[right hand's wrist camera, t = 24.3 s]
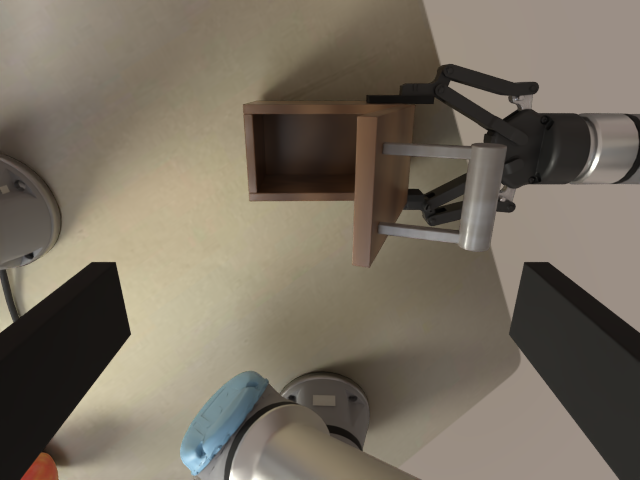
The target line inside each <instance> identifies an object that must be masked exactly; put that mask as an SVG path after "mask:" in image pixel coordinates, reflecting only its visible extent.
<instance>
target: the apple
mask: <svg viewBox="0 0 640 480" xmlns="http://www.w3.org/2000/svg"><path fill="white" fill-rule="evenodd" d="M21 480H58V472H57V468H56V465H55V462H54V460H53V459H52V457H51V456H50V455H49V454H47V453H43V452H41V453H40V455H39V456H38V457H37V459H36V460H35V461H34V463H33V464H32V465H31V467H30V468H29V469H28V470H27V472H26V473H25V474H24V476H23V477H22V478H21Z"/></svg>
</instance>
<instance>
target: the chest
mask: <svg viewBox="0 0 640 480" xmlns="http://www.w3.org/2000/svg"><path fill="white" fill-rule="evenodd" d="M399 105H407V104H402V103H367V102H366V101H254V102H250V103H247V104H243V113H244V128H245V143H246V158H247V173H248V188H249V201H354V199H355V171H356V142H357V117H358V116H360V115H364V114H368V113H372V112H376V111H380V110H384V109H388V108H392V107H395V106H399Z"/></svg>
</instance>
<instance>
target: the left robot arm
mask: <svg viewBox="0 0 640 480" xmlns="http://www.w3.org/2000/svg"><path fill="white" fill-rule="evenodd" d="M450 80H451V81H454V82H458V83H461V84H465V85H468V86H471V87H475V88H478V89H482V90H485V91H488V92H492V93H495V94H499V95H507V96H509V97H508V98H509V101H510V102H511V103H514V104H516V105H517V107H518V110H516V111H514V112H513V113H511V114H510V115H508V116H507V117H505V118H504V119H500V118H499V117H497V116H494V115H493V114H491V113H489V112H488V111H486V110H485V109H483V108H481V107H480V106H478V105H477V104H475V103H473V102H472V101H470V100H469V99H467V98H465V97H464V96H462V95H461V94H459V93H457V92H456V91H454V90H453V89H451V88H449V87H448V85H449V82H450ZM538 89H539V85H538V83H536V82H517V83H513V82H510V81H506V80H503V79H500V78H496V77H493V76H490V75H487V74H483V73H480V72H477V71H473V70H470V69H467V68H463V67H460V66H457V65H453V64H447V65H442V66H440V67H439V68H438V70H437V75H436V77H435V79H434V81H433V82H431V83H429V84H403V85H401V86H400V94H399V95H367V100H366V102H367V103H402V104H434V97H435V98H437V99H438V100H440V101H442V102H443V103H445V104H447V105H448V106H450V107H451V108H453V109H455V110H456V111H458V112H460V113H461V114H463V115H464V116H466V117H468V118H469V119H471V120H473V121H474V122H476V123H477V124H478V125H480V126H481V127H483V128H485V129H486V130H488V132H487V134H485V135H484V143H495V144H502V145H505V146H507V151H506V157H505V162H504V168H503V174H502V180H501V183H502V184H503V185H504V187H503V188H502V189H501V190H500V191H499V197H498V203H497V208H496V211H497V212H508V213H509V212H513V211H514V210H515V207H516V206H515V204H514V203H513V202H512V201H513V197H514V194H515V190H516V188H519V187H521V186H523V185H527V184H567V183H570V184H640V114H610V113H609V114H608V113H584V114H579V115H578V114H574V113H537V112H535V111H534V110H532V109H531V107H532V98H533V94H535V93H536V92H537V91H538ZM466 178H467V173H466V174H464V175H462V176H460V177H458V178H456V179H454V180H452V181H450V182H448V183H446V184H444V185H442V186H440V187H438V188H436V189H434V190H432V191H430V192H428V193H426V194H423V193H422V192H421V191H420V190H419V189H408V196H407V203H406V205H405V207H404V208H403V210H422V216H423V218H424V219H425V221H426V222H427V223H428V224H429V225H430V226H435V225H439V224H444V223H448V222H452V221H456V220H460V219H461V213H462V206H463V201H461V202H457V203H453V204H449V205H445V206H441V205H443V204H445V203H447V202H449V201H451V200H453V199H455V198H457V197H459V196H461V195H463V194H464V192H465V185H466ZM439 206H441V207H439ZM369 418H370V411H369V405H368V400H367V397H366V395H365V393H364V392H363V390H362V389H361V388H360V387H359V386H358V385H357V384H356V383H355V382H353V381H352V380H350V379H348V378H346V377H344V376H342V375H338V374H334V373H327V372H318V373H311V374H307V375H303V376H301V377H298V378H296V379H295V380H293V381H291V382H290V383H289V384H288V385H286V386H285V387H284V389H283V390H282V391H281V393H280V394H279V393H278V392H277V391H276V390H275V389H274V388H273V387H272V386H271V385H270V384H269V381H268V380H267V379H264V378H263V377H262V376H261V375H259V374H258V373H257V372H254V371H246V372H243V373H241V374H238V375H237V376H235V377H234V378H232V379H231V380H229V381H228V382H227V383H226V384H224V385H223V386H222V387H221V388H220V389H219V390H218V391H217V392H216V393H215V394H214V395H213V396H212V397H211V398H210V399H209V400H208V401H207V403H206V404H205V405H204V406H203V407H202V409H201V410H200V411H199V413H198V414H197V415H196V417H195V418H194V420H193V421H192V423H191V425H190V426H189V428H188V430H187V432H186V434H185V436H184V438H183V441H182V444H181V449H180V456H181V459H182V461H183V463H184V464H185V465H186V466H187V467H188V468H189V469H190V470H191V473H192V475H194V476H196V475H197V476H198V477H199V478H201V479H202V480H421V479H419V478H417V477H415V476H412V475H410V474H408V473H406V472H404V471H402V470H400V469H398V468H396V467H394V466H392V465H390V464H388V463H386V462H383V461H381V460H379V459H377V458H375V457H373V456H371V455H369V454H367V453H365V452H363V445H364V441H365V437H366V433H367V429H368V425H369Z"/></svg>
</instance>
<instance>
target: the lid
mask: <svg viewBox="0 0 640 480" xmlns="http://www.w3.org/2000/svg"><path fill="white" fill-rule="evenodd" d="M414 114H415V105H399V106H395V107H392V108H388V109H384V110H380V111H376V112H372V113H368V114H364V115H360V116H358V117H357V142H356V171H355V199H354V228H353V257H352V265H355V266H361V267H368V268H370V266H371V264H372V263H373V261H374V259H375V257H376V256H377V254H378V252H379V250H380V249H381V247H382V245H383V243H384V242H385V240H386V238H387V236H388V235H393V236H401V237H409V238H417V239H425V240H433V241H441V242H449V243H457V244H458V246H459V247H461V248H463V249H466V250H469V251H477V252H480V251H486V250H488V249H489V248H490V243H491V237H492V231H493V226H494V220H495V214H496V208H497V203H498V197H499V191H500V185H501V180H502V174H503V168H504V162H505V157H506V151H507V146H505V145H502V144H495V143H475V144H472V145H471V146H457V145H436V144H414V143H412V137H413V126H414ZM411 156H420V157H437V158H455V159H469V164H468V171H467V178H466V185H465V192H464V199H463V206H462V213H461V220H460V228H459V231H458V230H449V229H441V228H432V227H423V226H414V225H405V224H396V223H395V222H396V221H397V219H398V217H399V215H400V214H401V212H402V210H403V208H404V207H405V205H406V203H407V196H408V184H409V172H410V161H411Z"/></svg>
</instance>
